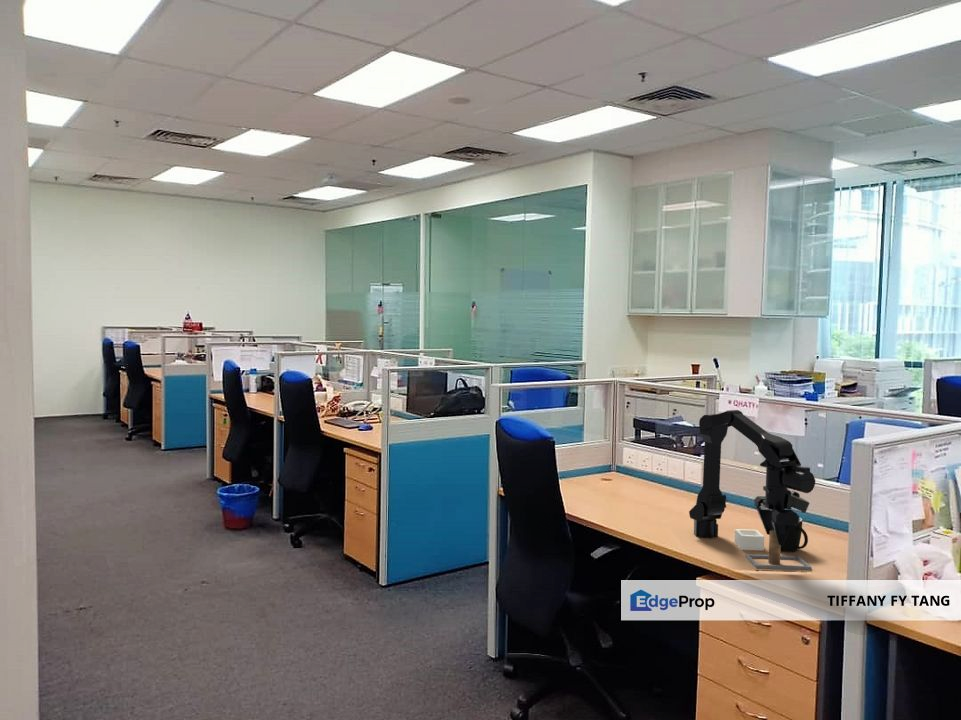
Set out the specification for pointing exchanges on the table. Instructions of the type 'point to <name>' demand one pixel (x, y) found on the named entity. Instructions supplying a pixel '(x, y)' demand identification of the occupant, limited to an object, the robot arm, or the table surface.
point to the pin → (774, 549)
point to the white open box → (749, 539)
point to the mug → (794, 538)
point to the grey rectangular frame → (805, 567)
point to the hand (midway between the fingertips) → (774, 539)
